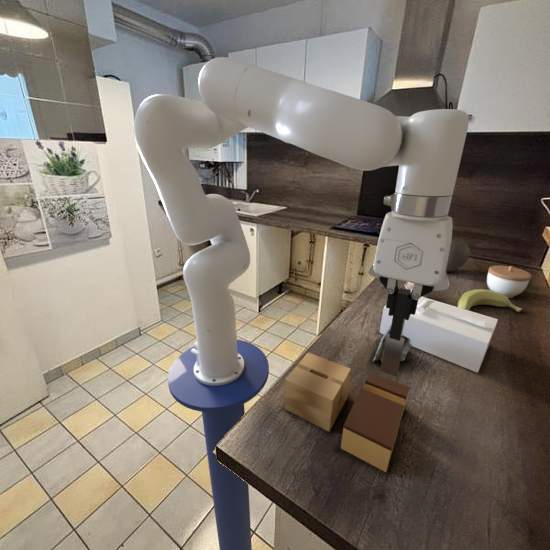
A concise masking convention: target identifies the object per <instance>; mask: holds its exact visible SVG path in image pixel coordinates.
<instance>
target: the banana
mask: <svg viewBox="0 0 550 550" xmlns="http://www.w3.org/2000/svg"><path fill="white" fill-rule="evenodd" d="M480 305H483V306H484V305H486V306H487V305H488V306H493V307H499V308H506V307H508V308H511V309H513V310H514V311H515V312H516V313H518V314H519V313H521V312H522V311H523V308H522V307H519V306H516V305H515V304H514V303H513V302H511V300H510V298H507V297H506V296H505V295H503V294H501V293H499V292H495V291H491V290H490V289H483V288H480V289H479V288H478V289H471V290H468V291H466V292H464V293H463V294H462V295H460V298H459V299H458V302H457V307H458V308H462V309H465V310H468V311H471V310H470V309H471V308H472V307H474V306H480Z"/></svg>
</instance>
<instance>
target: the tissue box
mask: <svg viewBox="0 0 550 550" xmlns="http://www.w3.org/2000/svg"><path fill="white" fill-rule="evenodd" d="M388 314H389V308H386V305H384V306H383V309H382V315H381V321H380V326H379V334H382V335H384V334H385V333H386V331H387V330H388V328H389V327H390V326H391V324H392V319H393V316H389V315H388ZM498 320H499V319H498V318H495V317H492V316H488V315H486V314H485V315H484V314H482V313H478V312H475V311H472V310H469V311H468V310H465V309H462V308H458V306H455V305H451V304H448V303H444V302H442V301H438V300H435V299H431V298H428V297H427V298H425V297H420V299H418V303H417V308H416V312H415V315H413V314H411V315H410V317H409V320H405V323H404V328H403V334H402V335H404V336H405V337H407V338H409V339H410V340H411V341H410V344H411V345H412V346H411V347H413V348H416V349H419V350H421V351H423V352H426V353H428V354H431V355H433V356H436V357H438V358H440V359H443V360H445V361H448V362H450V363H452V364H455V365H457V366H460V367H462V368H465V369H466V370H470V371H472V372H474V373H476V374H477V373H479V371H480V368H481V367H482V364H483V361H484V359H485V356H486V354H487V352H488V349H489V346H490V343H491V341H492V339H493V338H492V337H493V336H494V332H495V330H496V328H497V327H496V326H497V324H498Z"/></svg>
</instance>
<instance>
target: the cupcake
mask: <svg viewBox="0 0 550 550" xmlns="http://www.w3.org/2000/svg"><path fill="white" fill-rule="evenodd" d="M403 285H404V287H405V289H408V290H411V292H412V290H413V288H414V283H410V282H405V283H404V284H403ZM429 294H430V293H428V294H426V295H424V296H422V297H425V298H428V297H429Z"/></svg>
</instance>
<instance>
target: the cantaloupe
mask: <svg viewBox="0 0 550 550" xmlns="http://www.w3.org/2000/svg"><path fill="white" fill-rule="evenodd" d="M470 256H471V249H470V247H469V244H467V243H466V242H465V241H464V240H463V239H460V238H457V237H453V236H452V239H451V246H450V251H449V257H448V262H447V267H446V272H447V273H449V272H454V271H457V270H458V269H460V268H462V267H463V266H464V265H465V264H467V261H469V258H470Z"/></svg>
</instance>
